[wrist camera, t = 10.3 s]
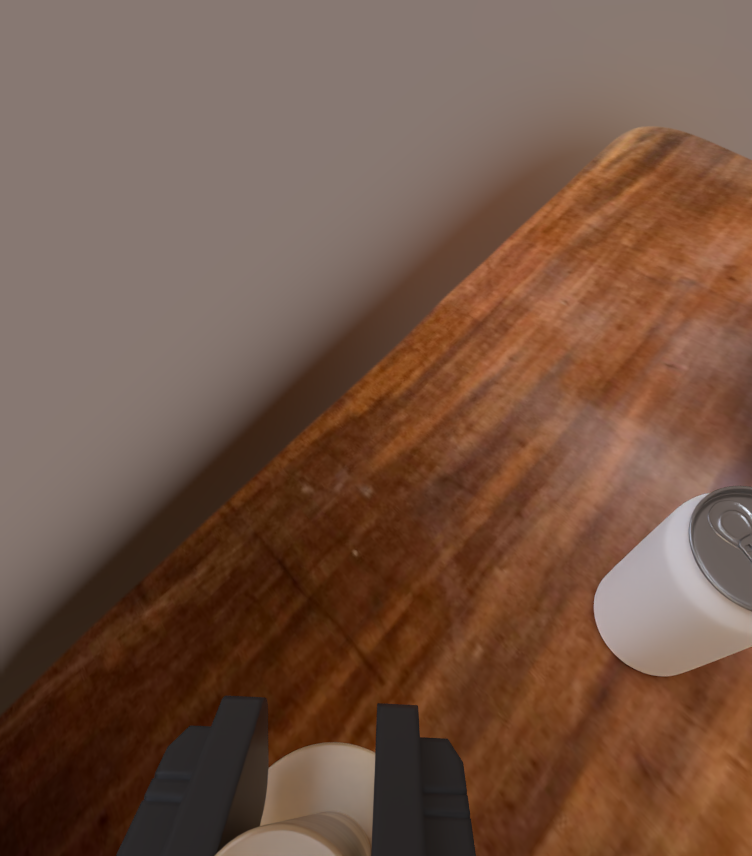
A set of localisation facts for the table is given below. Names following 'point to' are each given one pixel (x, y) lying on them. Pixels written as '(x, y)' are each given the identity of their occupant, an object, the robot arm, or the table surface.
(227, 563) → the table surface
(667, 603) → the can
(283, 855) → the wooden stamp
